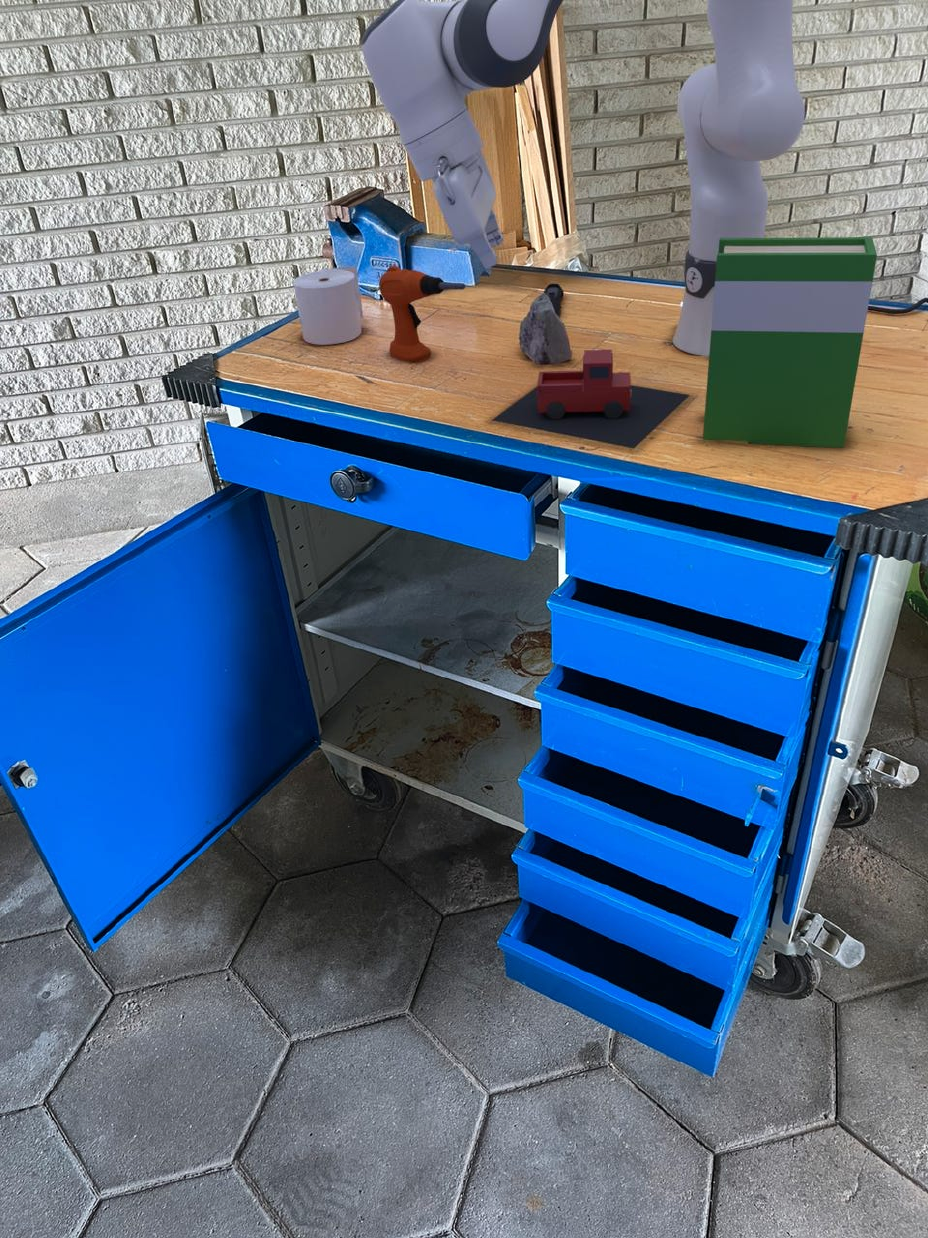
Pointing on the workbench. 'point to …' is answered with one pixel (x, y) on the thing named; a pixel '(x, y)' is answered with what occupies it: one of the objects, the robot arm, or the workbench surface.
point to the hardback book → (787, 338)
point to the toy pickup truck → (585, 388)
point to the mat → (600, 417)
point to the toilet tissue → (329, 305)
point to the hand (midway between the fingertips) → (495, 254)
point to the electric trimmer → (554, 296)
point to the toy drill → (409, 308)
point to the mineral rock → (544, 334)
